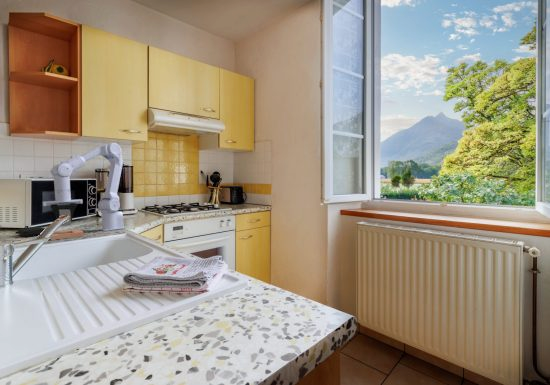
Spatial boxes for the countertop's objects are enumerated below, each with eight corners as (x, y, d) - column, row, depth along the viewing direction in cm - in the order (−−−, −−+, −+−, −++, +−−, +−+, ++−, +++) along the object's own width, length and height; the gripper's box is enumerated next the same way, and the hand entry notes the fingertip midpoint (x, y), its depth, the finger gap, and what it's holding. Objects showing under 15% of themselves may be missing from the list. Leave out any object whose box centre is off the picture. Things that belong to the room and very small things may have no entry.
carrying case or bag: (20, 231, 134) (13, 229, 143) (20, 238, 134) (13, 235, 143) (49, 228, 142) (40, 226, 151) (49, 234, 142) (40, 231, 151)
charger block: (68, 224, 137) (67, 209, 137) (71, 225, 134) (70, 209, 133) (58, 225, 134) (57, 210, 134) (60, 226, 131) (59, 210, 130)
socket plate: (77, 233, 144) (77, 229, 144) (83, 236, 135) (83, 231, 135) (46, 237, 135) (46, 232, 135) (51, 240, 126) (50, 236, 126)
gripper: (79, 189, 141) (81, 218, 142) (41, 191, 131) (43, 221, 131) (83, 189, 136) (84, 219, 137) (43, 191, 126) (45, 223, 126)
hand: (64, 220), depth 134 cm, fingers closed on charger block, 4 cm apart
